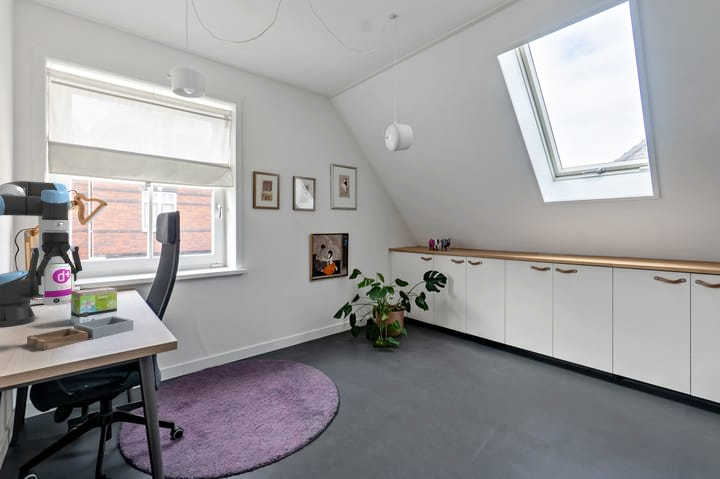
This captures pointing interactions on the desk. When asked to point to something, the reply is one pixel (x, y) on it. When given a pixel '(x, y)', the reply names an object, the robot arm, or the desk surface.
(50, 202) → the robot arm
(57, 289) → the supplement can
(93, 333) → the tray
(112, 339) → the desk surface
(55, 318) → the desk surface
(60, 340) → the tray
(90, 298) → the tea box
